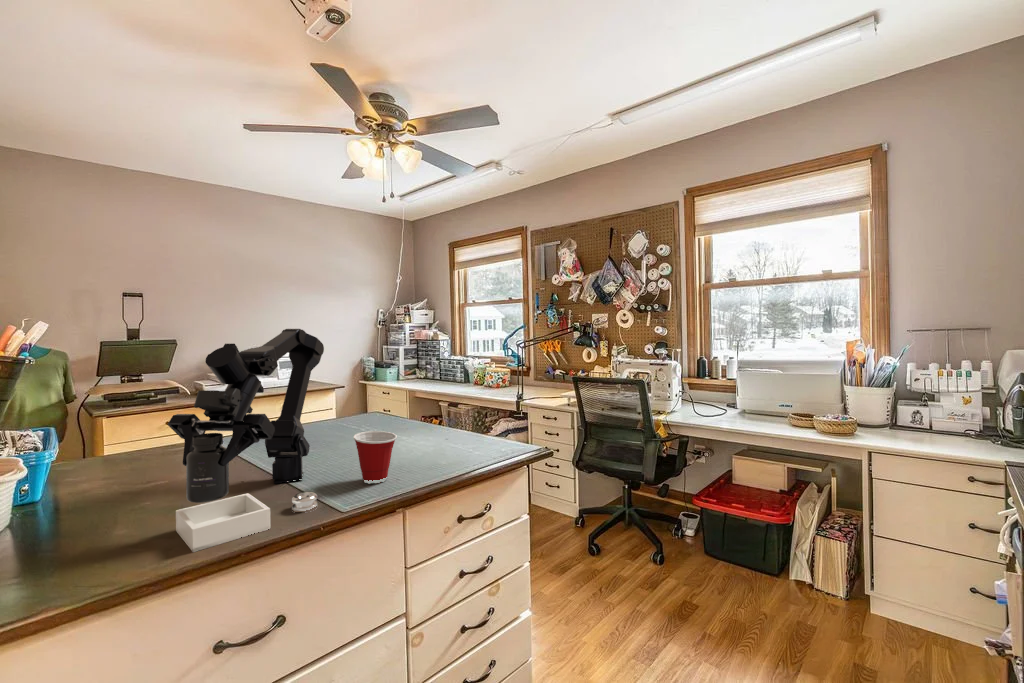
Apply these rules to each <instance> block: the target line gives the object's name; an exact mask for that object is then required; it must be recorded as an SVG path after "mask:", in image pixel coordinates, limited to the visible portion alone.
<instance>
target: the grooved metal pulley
mask: <svg viewBox="0 0 1024 683" xmlns="http://www.w3.org/2000/svg"><path fill="white" fill-rule="evenodd" d="M317 499H318V494H317V493H316V492H311V491H306V492H300V493H297V494H295V495H294V496H293V497H292V498H291V503H292V505H291V511H292V510H294V511H306V510H310V509H312V508H314V507H316V506H317V507H318V501H317Z"/></svg>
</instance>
